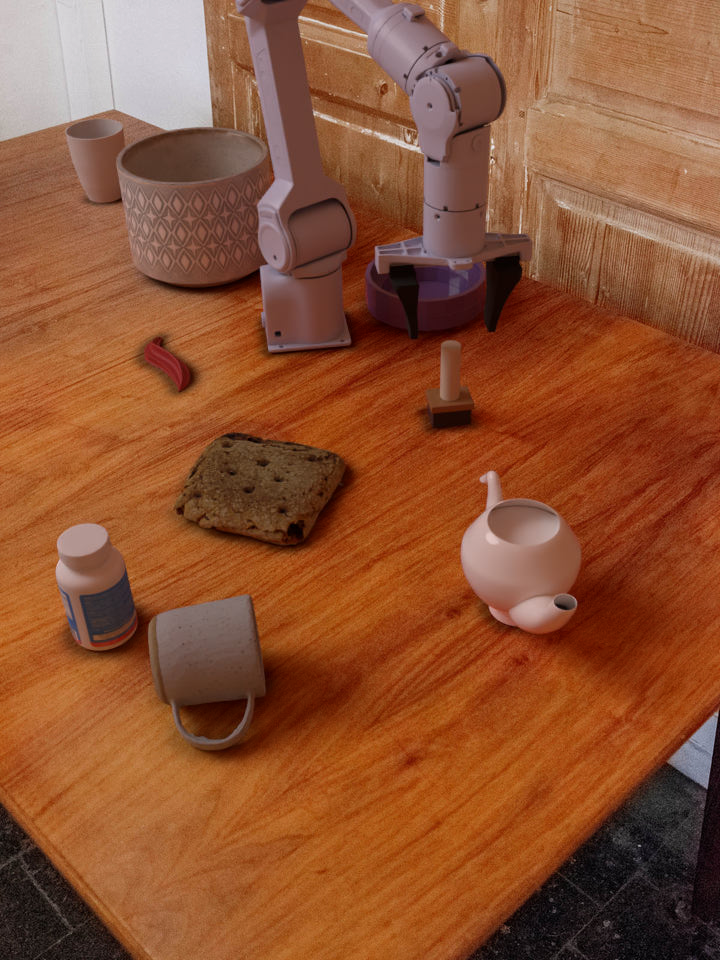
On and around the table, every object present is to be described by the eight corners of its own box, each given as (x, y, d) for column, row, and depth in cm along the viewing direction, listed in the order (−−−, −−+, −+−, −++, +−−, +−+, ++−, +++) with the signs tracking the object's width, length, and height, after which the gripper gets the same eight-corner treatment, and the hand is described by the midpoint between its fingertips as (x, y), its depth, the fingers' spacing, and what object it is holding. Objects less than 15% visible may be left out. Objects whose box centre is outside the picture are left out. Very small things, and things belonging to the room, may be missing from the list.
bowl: (375, 340, 126) (375, 306, 123) (359, 283, 137) (358, 250, 134) (496, 329, 127) (498, 294, 125) (470, 273, 138) (471, 240, 136)
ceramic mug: (158, 657, 88) (143, 589, 83) (259, 642, 89) (251, 573, 84) (163, 765, 79) (148, 696, 75) (275, 747, 80) (267, 678, 76)
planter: (129, 239, 149) (111, 135, 140) (264, 222, 152) (255, 120, 143) (139, 303, 134) (120, 192, 126) (288, 283, 137) (280, 173, 129)
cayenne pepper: (142, 340, 127) (139, 326, 126) (181, 335, 128) (179, 321, 127) (149, 395, 118) (147, 380, 117) (192, 389, 119) (190, 374, 118)
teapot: (530, 522, 100) (538, 440, 94) (617, 685, 84) (632, 598, 78) (429, 539, 98) (430, 456, 93) (498, 708, 83) (505, 621, 77)
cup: (139, 185, 163) (129, 118, 157) (125, 207, 157) (114, 139, 151) (87, 184, 164) (74, 118, 158) (70, 206, 158) (57, 139, 152)
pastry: (209, 576, 95) (205, 550, 93) (145, 471, 107) (141, 446, 106) (384, 514, 101) (384, 488, 99) (304, 421, 113) (303, 397, 112)
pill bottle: (150, 613, 92) (132, 524, 86) (118, 659, 88) (97, 569, 82) (92, 600, 93) (71, 511, 87) (59, 644, 89) (34, 554, 83)
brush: (431, 430, 112) (432, 356, 106) (425, 411, 114) (426, 338, 109) (473, 425, 112) (476, 351, 107) (466, 407, 115) (469, 334, 109)
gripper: (382, 224, 95) (384, 359, 103) (545, 210, 96) (534, 344, 104) (370, 191, 100) (373, 322, 109) (525, 179, 102) (516, 309, 110)
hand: (451, 330), depth 107 cm, fingers open, 7 cm apart
